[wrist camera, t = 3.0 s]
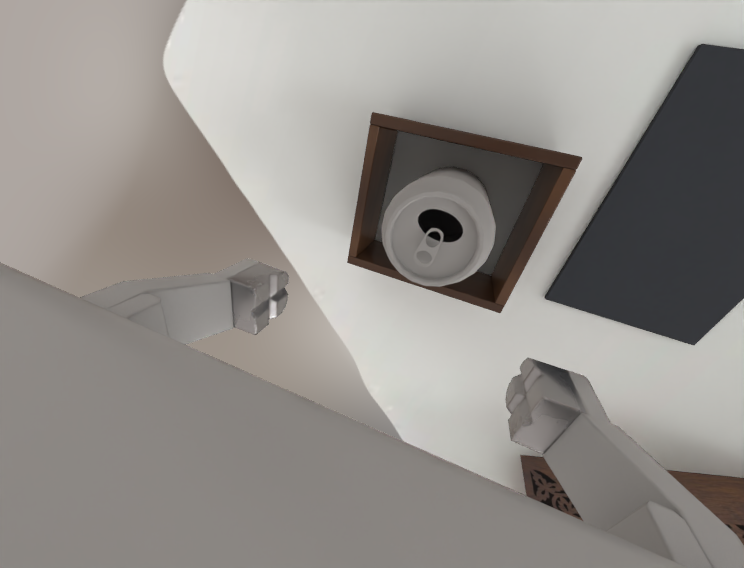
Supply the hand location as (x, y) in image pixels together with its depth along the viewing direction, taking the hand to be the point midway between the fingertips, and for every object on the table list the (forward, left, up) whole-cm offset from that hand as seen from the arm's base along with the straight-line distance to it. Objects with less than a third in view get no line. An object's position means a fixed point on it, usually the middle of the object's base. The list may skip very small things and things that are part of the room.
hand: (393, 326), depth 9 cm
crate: (0, 0, -21) cm, 21 cm away
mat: (0, +19, -21) cm, 29 cm away
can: (0, 0, -21) cm, 21 cm away
